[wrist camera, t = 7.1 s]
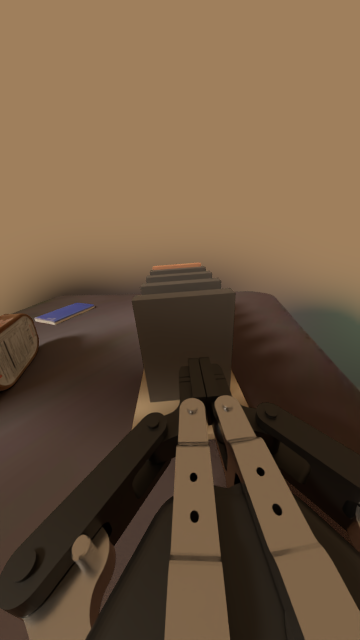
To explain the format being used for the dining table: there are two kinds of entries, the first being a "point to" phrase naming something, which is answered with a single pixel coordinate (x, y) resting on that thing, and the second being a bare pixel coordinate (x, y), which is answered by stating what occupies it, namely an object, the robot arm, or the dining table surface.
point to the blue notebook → (64, 313)
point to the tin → (16, 347)
